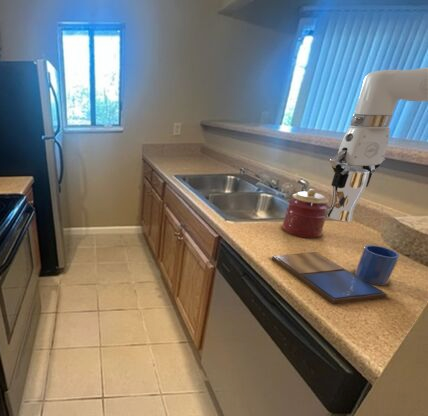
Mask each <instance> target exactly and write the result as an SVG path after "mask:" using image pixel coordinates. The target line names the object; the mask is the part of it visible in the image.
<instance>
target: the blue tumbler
mask: <svg viewBox="0 0 428 416" xmlns="http://www.w3.org/2000/svg"><path fill="white" fill-rule="evenodd" d="M399 258H400V255H399V253H398V252H396V251H394V250H392V249H391V248H387V247H384V246H379V245H371V244H370V245H369V244H368V245H365V246H364V247H363V250H362V253H361V255H360V258H359V260H358V263H357V266H356V269H355V272H354V275H356V276H358V277H359V278H361V279H363V280H364V281H366V282H368V283H369V284H371V285H375V286H386V285H387V284H388V283H389V282H390V280H391V276H392V275H393V272H394V270H395V268H396V266H397V262H398V260H399Z"/></svg>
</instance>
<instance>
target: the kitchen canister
mask: <svg viewBox="0 0 428 416" xmlns="http://www.w3.org/2000/svg"><path fill="white" fill-rule="evenodd" d="M329 201H330V200H329V198H327V197H326V196H325V195H323V194H321V193H317V191H316V189H314V188H310V189H308V190H307V191H298V192H296V193H293V194H292V196H291V198H290V199H289V198H288V206H287V207H286V211H285V215H284V220H283V222H282V229H283V230H284V231H285V232H287V233H288V234H291V235H293V236H296V237H301V238H306V239H307V238H308V239H311V238H312V239H314V238H319V237H320V236H321V235H322V233H323V231H324V226H325V223H326V219H327V218H328V217H327V216H326V214H327V212H328V211H329V209H330V206H331V205H329V204H328V203H329Z"/></svg>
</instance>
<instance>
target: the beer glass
mask: <svg viewBox="0 0 428 416" xmlns="http://www.w3.org/2000/svg"><path fill="white" fill-rule="evenodd" d="M344 167H345V166H342V168H344ZM369 173H370V171H369V170H367V169H362V168H361V167H356V166H351V167H350V168H349V170H348V171H347V172H346V175H347V178H346V181H345V184H344V187H343V188H338V187H334V186H332V195H331V204H330V205H329V206H330V208H329V209H328V210H327V212H326V216H327V217H326V218H328V219H330V220H332V221H336V222H341V223H350V222H352V221H353V214H354V210H355V208H356V205H358V202H359V201H360V200H361V198H362V195H363V194H364V192H365V190H366V188H367V187H366V185H367V181H368V177H369Z"/></svg>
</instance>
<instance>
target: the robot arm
mask: <svg viewBox="0 0 428 416" xmlns="http://www.w3.org/2000/svg"><path fill="white" fill-rule="evenodd" d="M399 100H402V101H405V102H406V101H407V102H428V66H427V67H420V68H414V69H413V68H412V69H406V70H405V69H382V70H374V71H371V72H369V73H367V75H366V76H365V77H364V79H363V82H362V86H361V89H360V92H359V95H358V99H357V102H356V104H355V107H354V112H353V115H352V118H351V119H350V125H349V127H348V128H347V130H346V132H345V134H344V137H343V138H342V141H341V143H340V145H339V147H338V148H339V149H338V151H337V153H336V154H335V155H334V156H332V158H330V159H329V163H330V165H331V167H332V170H333V172H332V173H334V174H333V177H332V181H331V187H333V186H334V187H338V188H343V187H344V184H345V181H346V178H347V175H346V172H347V171H348V170H349V168H350V167H360V168H362V169H367V170H369V171H370V173H369V177H368V181H367V185H366V187H365V188H367V187H369V184H370V182H371V179H372V175H373V174H374V173H375V172H376V170H377V169H378V168H379V167H380V165H381V164H382V163H383V162H385V161H386V157H385V154H386V152H387V148H388V144H389V140H390V132H391V128H390V123H391V121H392V118H393V115H394V113H395V109H396V106H397V104H398V101H399ZM342 167H344V168H342Z"/></svg>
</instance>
